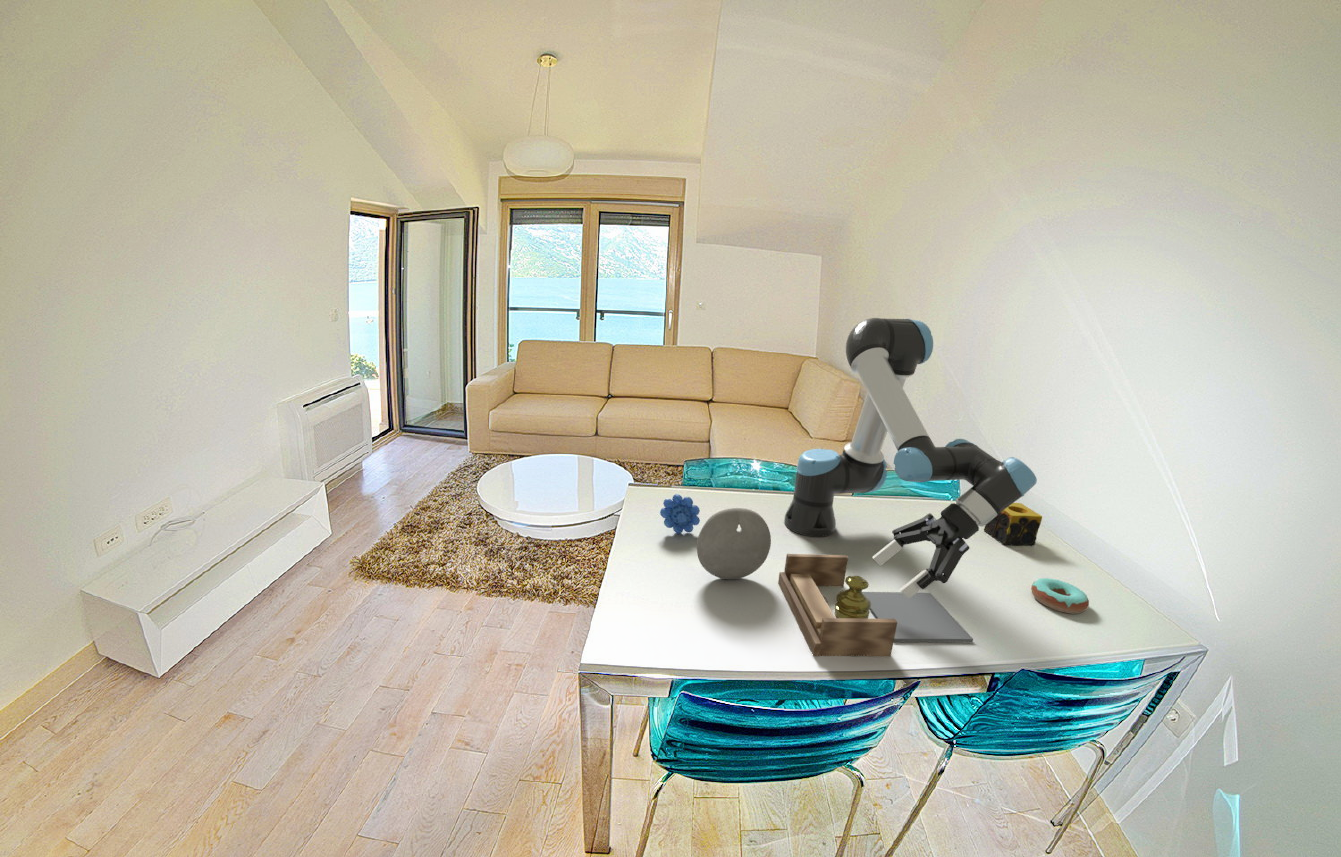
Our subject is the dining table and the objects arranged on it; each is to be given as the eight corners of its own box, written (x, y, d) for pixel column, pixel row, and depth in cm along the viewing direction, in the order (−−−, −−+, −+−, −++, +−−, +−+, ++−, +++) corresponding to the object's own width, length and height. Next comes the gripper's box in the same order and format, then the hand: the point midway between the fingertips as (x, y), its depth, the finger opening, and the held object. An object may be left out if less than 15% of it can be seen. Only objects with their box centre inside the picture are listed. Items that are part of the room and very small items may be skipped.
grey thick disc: (761, 570, 147) (769, 502, 142) (770, 584, 141) (779, 514, 136) (691, 571, 144) (696, 502, 139) (696, 587, 138) (703, 515, 132)
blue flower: (661, 540, 159) (663, 500, 156) (657, 529, 166) (659, 491, 163) (701, 539, 162) (705, 500, 158) (696, 529, 168) (700, 490, 165)
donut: (1047, 585, 150) (1051, 571, 148) (1097, 610, 139) (1101, 595, 138) (1018, 594, 144) (1022, 580, 143) (1068, 621, 134) (1073, 606, 133)
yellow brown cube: (982, 530, 180) (989, 501, 177) (1013, 531, 181) (1020, 502, 178) (1003, 546, 170) (1011, 515, 167) (1035, 546, 171) (1043, 516, 168)
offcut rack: (841, 583, 143) (846, 555, 141) (890, 656, 117) (897, 622, 115) (778, 582, 142) (781, 553, 140) (813, 656, 116) (818, 621, 113)
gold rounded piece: (850, 629, 125) (857, 589, 122) (827, 611, 131) (833, 572, 129) (875, 622, 128) (882, 582, 126) (851, 604, 135) (857, 566, 132)
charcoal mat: (929, 595, 141) (930, 592, 140) (972, 642, 123) (973, 638, 123) (858, 594, 139) (859, 591, 139) (892, 641, 122) (892, 638, 122)
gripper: (1014, 554, 113) (928, 621, 115) (945, 503, 137) (874, 559, 139) (994, 529, 111) (907, 597, 113) (927, 482, 135) (856, 539, 137)
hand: (889, 577), depth 126 cm, fingers open, 13 cm apart
